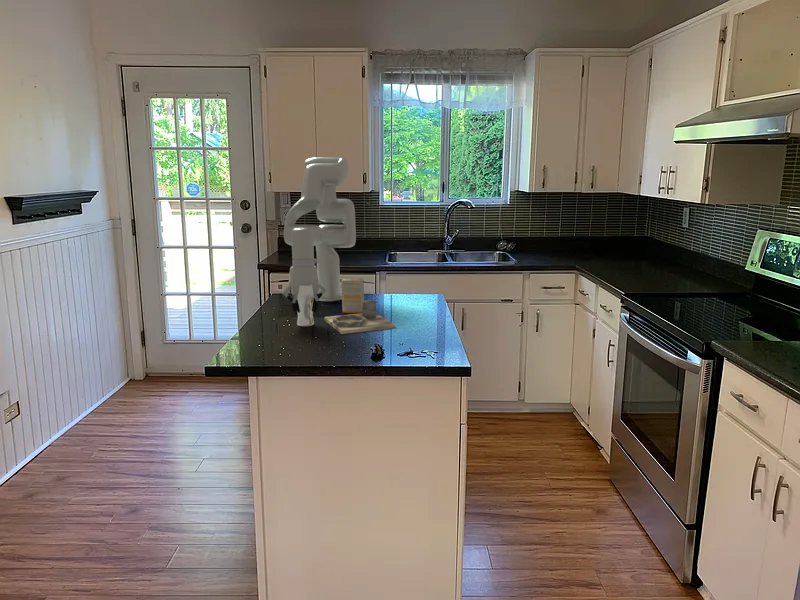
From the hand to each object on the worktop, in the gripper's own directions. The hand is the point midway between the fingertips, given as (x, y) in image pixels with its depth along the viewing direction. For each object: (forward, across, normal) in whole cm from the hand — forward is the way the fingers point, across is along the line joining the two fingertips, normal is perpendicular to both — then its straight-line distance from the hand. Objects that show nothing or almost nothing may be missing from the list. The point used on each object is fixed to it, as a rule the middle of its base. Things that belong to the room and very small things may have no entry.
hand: (305, 311), depth 212 cm
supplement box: (+5, -22, -11) cm, 25 cm away
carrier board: (+5, -18, +7) cm, 20 cm away
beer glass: (+5, 0, 0) cm, 5 cm away
